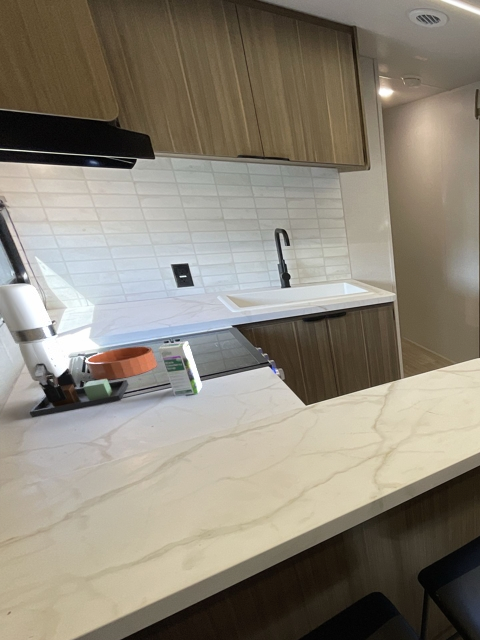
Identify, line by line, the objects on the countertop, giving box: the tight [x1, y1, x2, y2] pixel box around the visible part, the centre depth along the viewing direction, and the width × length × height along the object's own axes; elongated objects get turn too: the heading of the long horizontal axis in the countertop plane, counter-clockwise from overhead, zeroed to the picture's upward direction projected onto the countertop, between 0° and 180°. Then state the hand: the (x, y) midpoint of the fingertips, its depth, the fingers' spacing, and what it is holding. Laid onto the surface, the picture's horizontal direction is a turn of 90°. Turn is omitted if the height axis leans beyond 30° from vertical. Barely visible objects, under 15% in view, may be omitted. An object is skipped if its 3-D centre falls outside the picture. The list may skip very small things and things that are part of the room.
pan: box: [29, 379, 129, 418], centre depth 111 cm, size 17×13×2 cm
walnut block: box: [52, 384, 79, 407], centre depth 109 cm, size 4×4×4 cm
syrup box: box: [158, 340, 203, 397], centre depth 114 cm, size 6×6×14 cm
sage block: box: [83, 379, 112, 400], centre depth 112 cm, size 4×4×4 cm
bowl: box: [84, 346, 158, 381], centre depth 130 cm, size 16×16×6 cm
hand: (64, 394), depth 109 cm, fingers open, 9 cm apart
